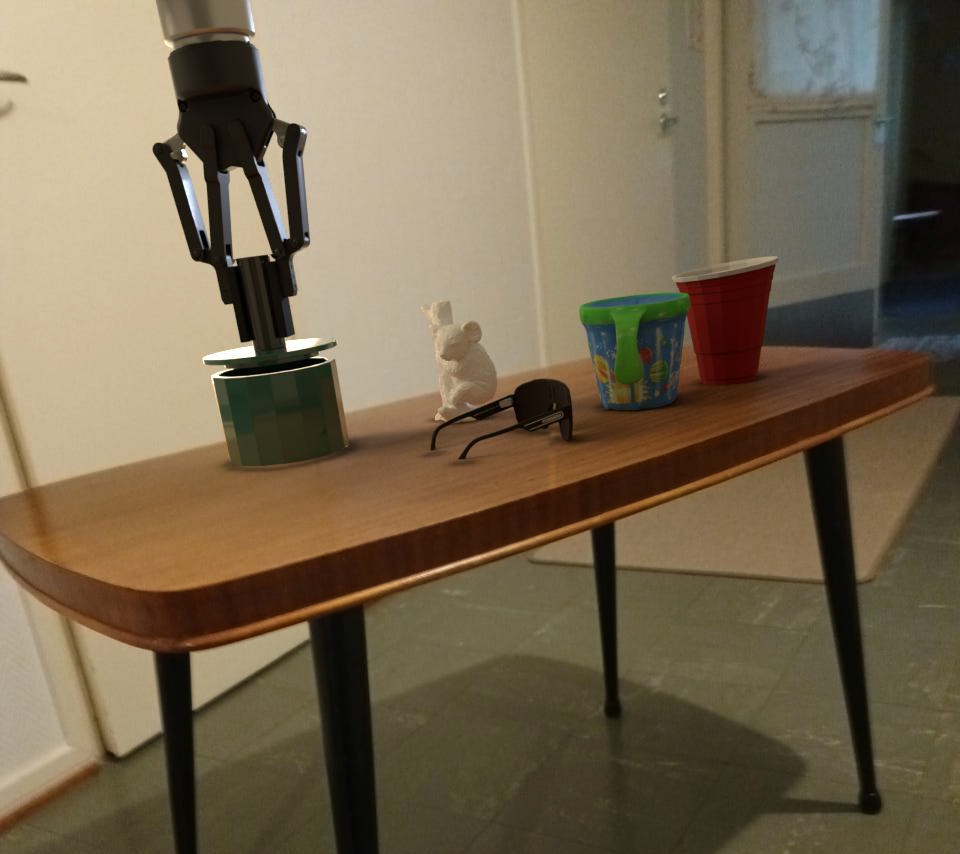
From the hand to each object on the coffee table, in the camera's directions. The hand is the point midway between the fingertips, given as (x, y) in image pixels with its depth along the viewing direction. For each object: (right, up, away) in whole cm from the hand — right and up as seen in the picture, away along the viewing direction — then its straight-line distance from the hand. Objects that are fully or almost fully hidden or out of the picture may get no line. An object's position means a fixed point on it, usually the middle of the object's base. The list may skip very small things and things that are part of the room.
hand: (268, 337), depth 91 cm
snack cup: (+36, -5, +8) cm, 37 cm away
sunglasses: (+22, -11, -4) cm, 25 cm away
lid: (0, -1, +1) cm, 1 cm away
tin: (+1, -10, +4) cm, 11 cm away
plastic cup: (+46, 0, +15) cm, 49 cm away
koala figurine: (+18, -5, +12) cm, 22 cm away
